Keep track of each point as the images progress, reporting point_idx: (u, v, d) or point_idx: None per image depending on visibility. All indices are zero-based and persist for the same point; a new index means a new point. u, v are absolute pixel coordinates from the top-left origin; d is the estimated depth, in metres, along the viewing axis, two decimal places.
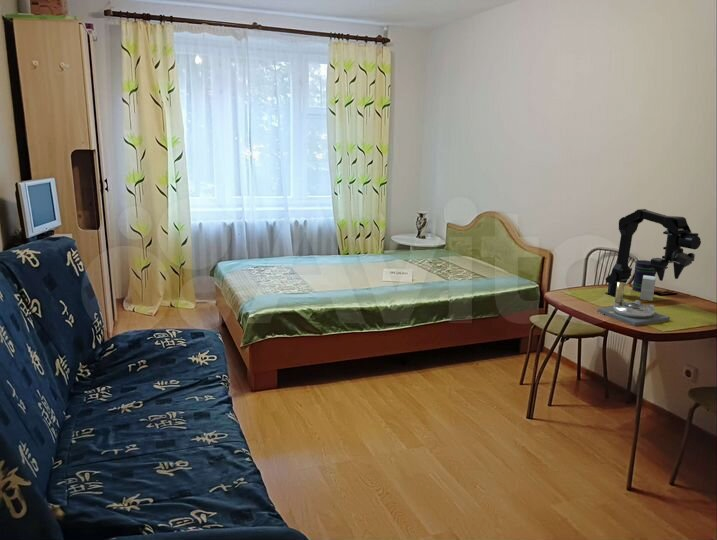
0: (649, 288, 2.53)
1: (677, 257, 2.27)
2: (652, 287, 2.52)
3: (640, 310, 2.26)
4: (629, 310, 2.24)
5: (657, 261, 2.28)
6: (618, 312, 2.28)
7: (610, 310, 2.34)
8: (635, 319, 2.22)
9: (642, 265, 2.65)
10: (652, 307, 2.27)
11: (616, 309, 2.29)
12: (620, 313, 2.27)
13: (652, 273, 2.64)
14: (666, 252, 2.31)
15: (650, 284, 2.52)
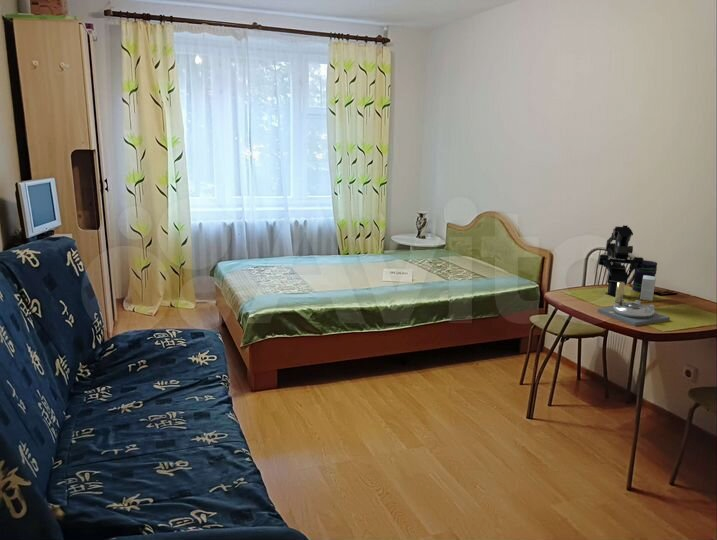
0: (649, 288, 2.53)
1: (616, 250, 2.48)
2: (652, 287, 2.52)
3: (640, 310, 2.26)
4: (629, 310, 2.24)
5: (599, 257, 2.52)
6: (618, 312, 2.28)
7: (610, 310, 2.34)
8: (635, 319, 2.22)
9: None
10: (652, 307, 2.27)
11: (616, 309, 2.29)
12: (620, 313, 2.27)
13: (652, 273, 2.64)
14: None
15: (650, 284, 2.52)
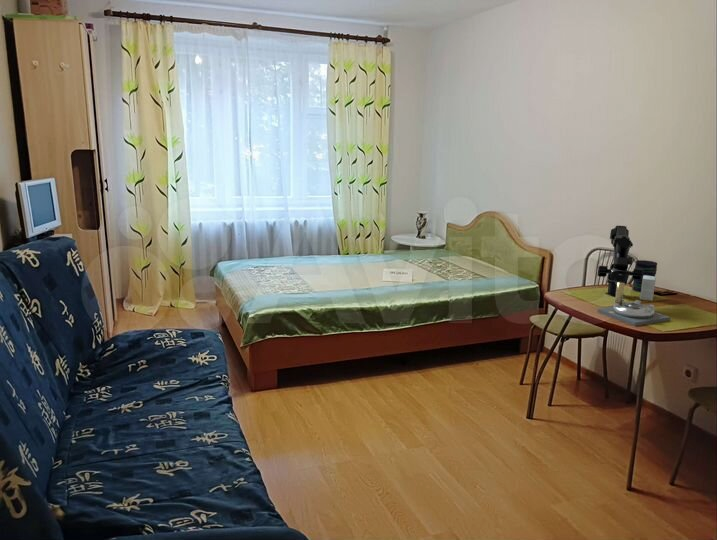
0: (649, 288, 2.53)
1: (615, 261, 2.42)
2: (652, 287, 2.52)
3: (640, 310, 2.26)
4: (629, 310, 2.24)
5: None
6: (618, 312, 2.28)
7: (610, 310, 2.34)
8: (635, 319, 2.22)
9: (642, 265, 2.65)
10: (652, 307, 2.27)
11: (616, 309, 2.29)
12: (620, 313, 2.27)
13: (652, 273, 2.64)
14: None
15: (650, 284, 2.52)
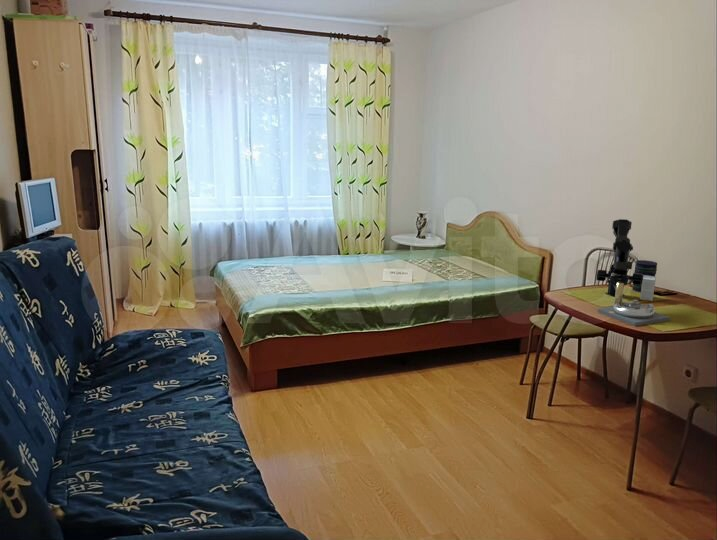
0: (649, 288, 2.53)
1: (614, 265, 2.37)
2: (652, 287, 2.52)
3: (641, 310, 2.26)
4: (632, 310, 2.23)
5: None
6: (620, 313, 2.27)
7: (610, 310, 2.34)
8: (635, 319, 2.22)
9: (642, 265, 2.65)
10: (651, 306, 2.28)
11: (618, 310, 2.28)
12: (622, 314, 2.26)
13: (652, 273, 2.64)
14: None
15: (650, 284, 2.52)
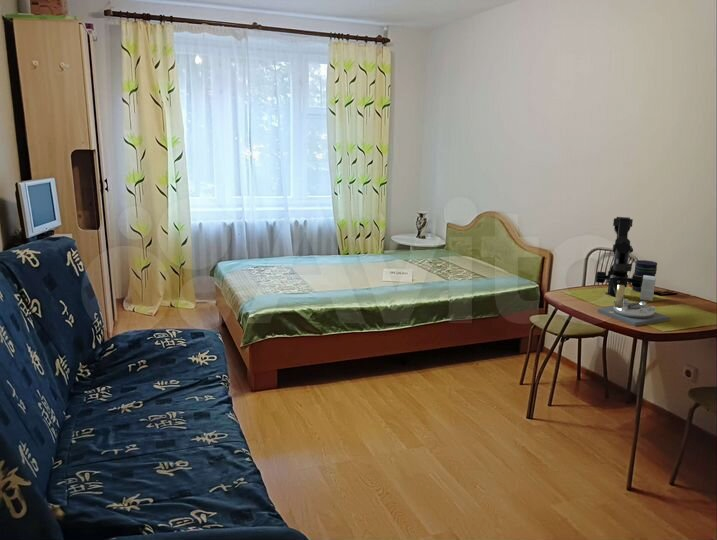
0: (649, 288, 2.53)
1: (614, 267, 2.33)
2: (652, 287, 2.52)
3: (644, 309, 2.27)
4: (644, 311, 2.22)
5: None
6: (631, 315, 2.23)
7: (610, 310, 2.34)
8: (635, 319, 2.22)
9: (642, 265, 2.65)
10: (645, 303, 2.32)
11: (628, 313, 2.24)
12: (634, 316, 2.23)
13: (652, 273, 2.64)
14: None
15: (650, 284, 2.52)
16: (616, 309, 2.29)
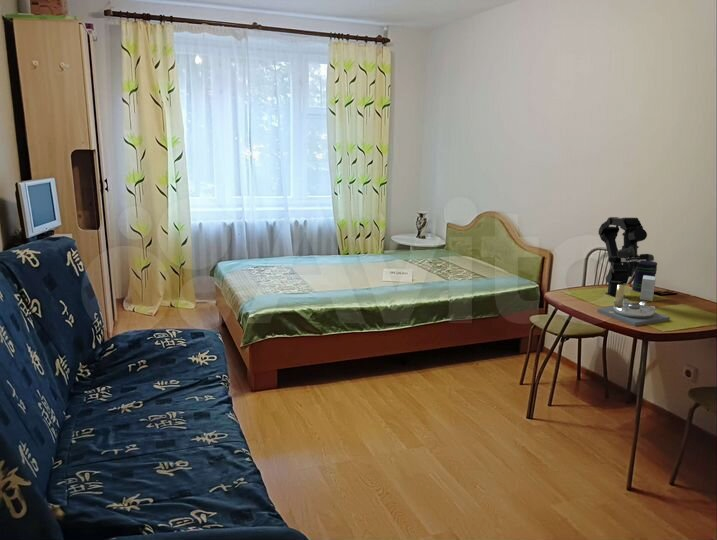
0: (649, 288, 2.53)
1: None
2: (652, 287, 2.52)
3: (644, 309, 2.27)
4: (644, 311, 2.22)
5: None
6: (631, 315, 2.23)
7: (610, 310, 2.34)
8: (635, 319, 2.22)
9: (642, 265, 2.65)
10: (645, 303, 2.32)
11: (628, 313, 2.24)
12: (634, 316, 2.23)
13: (652, 273, 2.64)
14: None
15: (650, 284, 2.52)
16: (616, 309, 2.29)
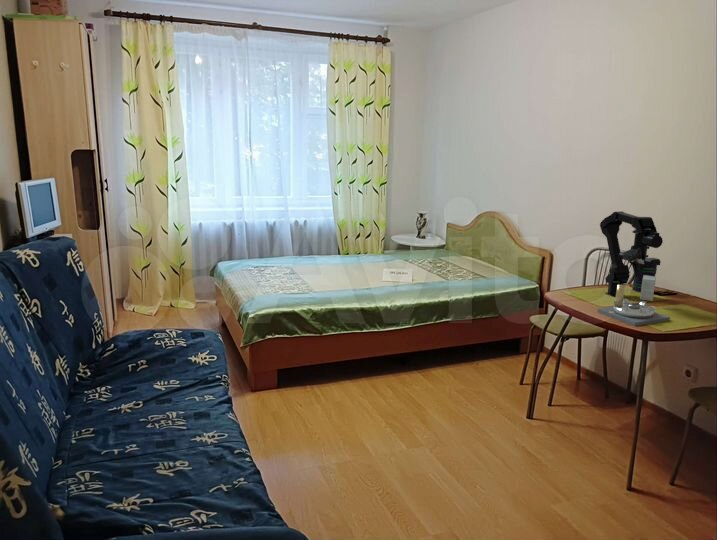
0: (649, 288, 2.53)
1: None
2: (652, 287, 2.52)
3: (644, 309, 2.27)
4: (644, 311, 2.22)
5: None
6: (631, 315, 2.23)
7: (610, 310, 2.34)
8: (635, 319, 2.22)
9: None
10: (645, 303, 2.32)
11: (628, 313, 2.24)
12: (634, 316, 2.23)
13: (652, 273, 2.64)
14: None
15: (650, 284, 2.52)
16: (616, 309, 2.29)
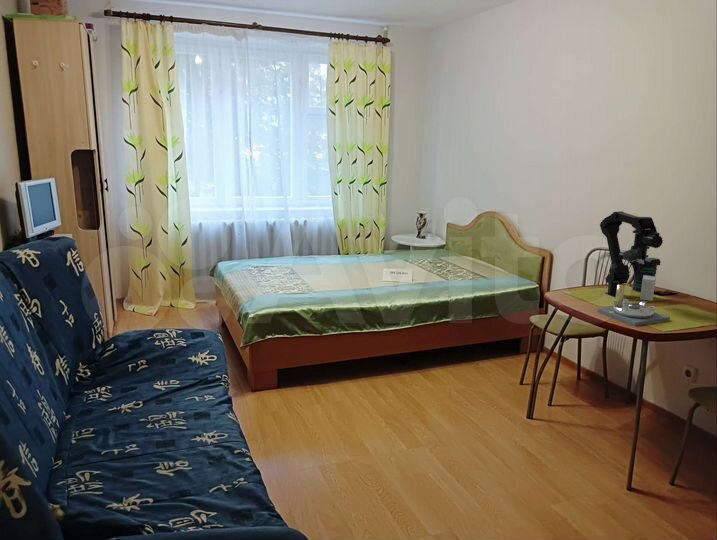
0: (649, 288, 2.53)
1: None
2: (652, 287, 2.52)
3: (644, 309, 2.27)
4: (644, 311, 2.22)
5: None
6: (631, 315, 2.23)
7: (610, 310, 2.34)
8: (635, 319, 2.22)
9: None
10: (645, 303, 2.32)
11: (628, 313, 2.24)
12: (634, 316, 2.23)
13: (652, 273, 2.64)
14: None
15: (650, 284, 2.52)
16: (616, 309, 2.29)
